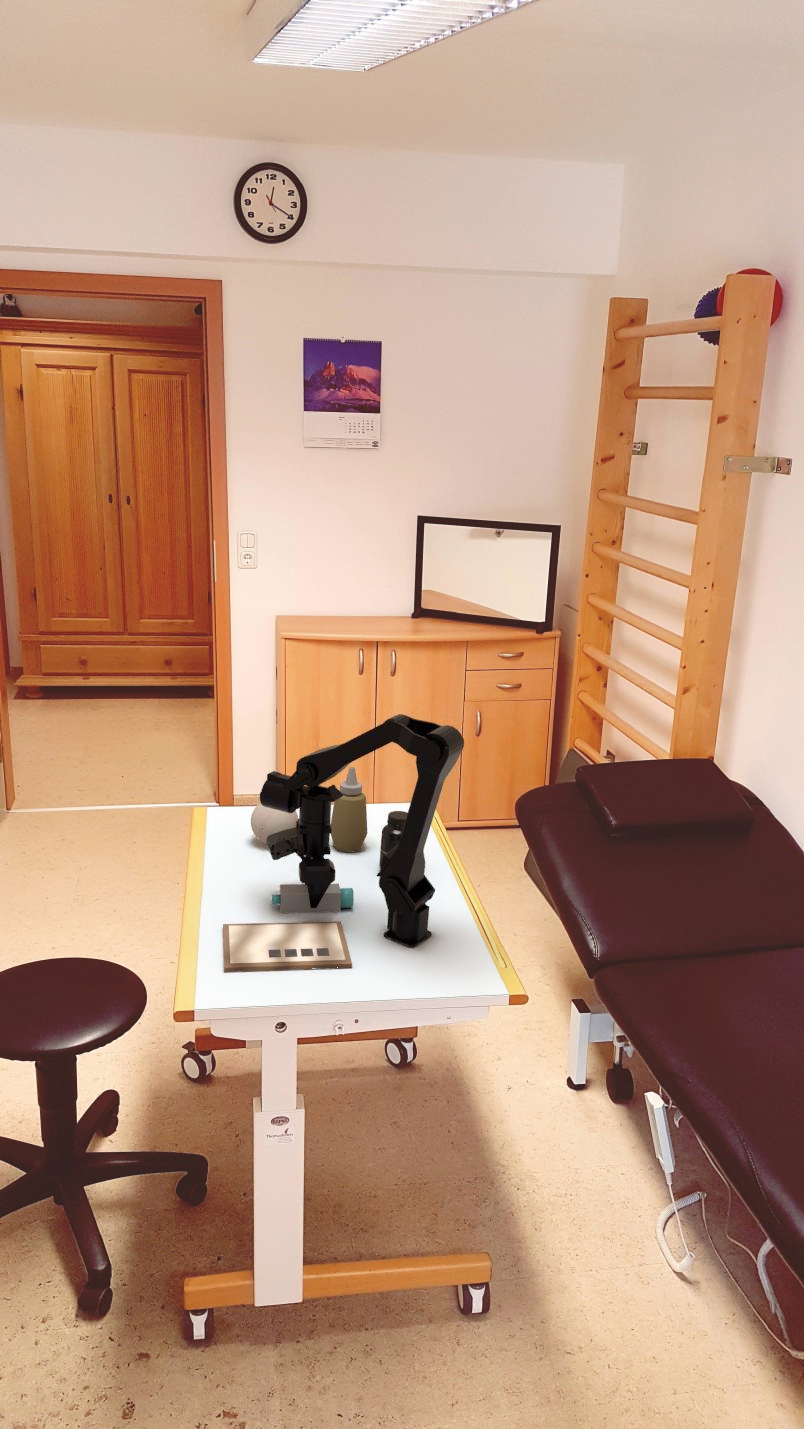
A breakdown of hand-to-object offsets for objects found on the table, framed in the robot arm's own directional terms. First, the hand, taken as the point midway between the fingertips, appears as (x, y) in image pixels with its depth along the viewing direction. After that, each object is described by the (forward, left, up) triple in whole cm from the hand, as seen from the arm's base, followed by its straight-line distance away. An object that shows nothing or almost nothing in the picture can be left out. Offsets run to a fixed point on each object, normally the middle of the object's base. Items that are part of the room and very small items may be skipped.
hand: (311, 896), depth 189 cm
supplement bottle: (-2, -25, -2) cm, 25 cm away
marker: (0, 0, -2) cm, 2 cm away
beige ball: (+25, -18, -2) cm, 31 cm away
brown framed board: (-6, +15, -2) cm, 16 cm away
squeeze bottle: (+12, -27, -2) cm, 30 cm away
